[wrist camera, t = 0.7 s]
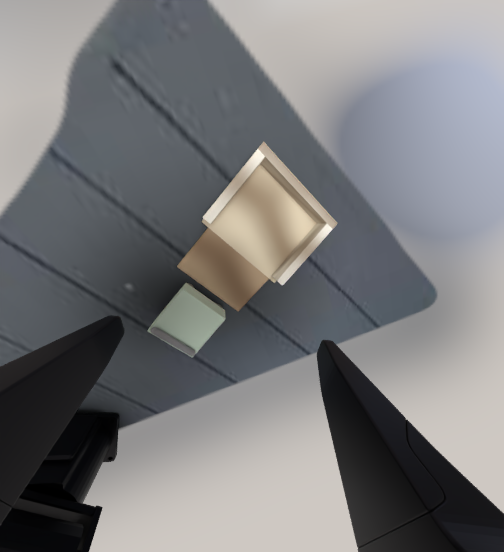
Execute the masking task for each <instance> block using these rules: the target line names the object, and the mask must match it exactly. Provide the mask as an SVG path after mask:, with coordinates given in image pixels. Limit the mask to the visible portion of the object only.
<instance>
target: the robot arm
mask: <svg viewBox="0 0 504 552" xmlns="http://www.w3.org/2000/svg"><path fill="white" fill-rule="evenodd" d="M123 335H124V327H123V324H122V320H121V318H120V317H119V316H112V315H110V316H107V317H105V318H103V319H101V320H98V321H96V322H94V323H92V324H90V325H88V326H86V327H84V328H81V329H79V330H77V331H75V332H73V333H71V334H69V335H67V336H65V337H62V338H60V339H58V340H56V341H54V342H52V343H50V344H48V345H45V346H43V347H41V348H39V349H37V350H35V351H33V352H31V353H28V354H26V355H24V356H22V357H20V358H18V359H16V360H14V361H11V362H9V363H7V364H5V365H3V366H1V367H0V552H89V549H90V546H91V543H92V540H93V536H94V533H95V530H96V527H97V524H98V520H99V517H100V514H101V511H102V507H100V506H96V507H94V506H90V505H86V504H83V501H84V499H85V497H86V495H87V493H88V491H89V489H90V487H91V485H92V483H93V481H94V479H95V477H96V475H97V473H98V471H99V469H100V466H101V464H102V462H111V461H114V459H115V457H116V455H117V441H118V425H119V416H118V415H117V414H75V413H76V411H77V410H78V408H79V407H80V405H81V404H82V402H83V401H84V399H85V398H86V396H87V395H88V393H89V392H90V390H91V389H92V387H93V386H94V384H95V383H96V381H97V380H98V378H99V377H100V375H101V374H102V372H103V371H104V369H105V368H106V366H107V364H108V363H109V361H110V359H111V357H112V355H113V353H114V352H115V350H116V348H117V346H118V344H119V342H120V340H121V339H122V337H123ZM317 361H318V370H319V377H320V385H321V392H322V397H323V402H324V406H325V410H326V415H327V419H328V423H329V428H330V432H331V436H332V440H333V445H334V449H335V453H336V457H337V462H338V466H339V470H340V475H341V479H342V483H343V488H344V492H345V496H346V500H347V505H348V509H349V513H350V518H351V522H352V526H353V530H354V534H355V539H356V543H357V547H358V552H504V513H502V512H501V511H500V510H499V509H498V508H497V507H496V506H495V505H494V504H493V503H492V502H491V501H490V500H489V499H487V497H486V496H484V495H483V494H482V493H481V492H480V491H479V490H478V489H477V488H476V487H475V486H474V485H473V484H472V483H470V481H469V480H468V479H466V478H465V477H464V476H463V475H462V474H461V473H460V472H459V471H458V470H457V469H456V468H455V467H454V466H453V465H452V464H451V463H450V462H449V461H447V459H446V458H445V457H444V456H442V455H441V454H440V453H439V452H438V451H437V450H436V449H435V448H434V447H433V446H432V445H431V444H430V443H429V442H428V441H427V440H426V439H425V438H424V437H423V435H421V433H420V432H418V430H417V429H416V428H415V427H414V426H413V425H412V424H411V423H410V422H409V421H408V420H406V418H405V417H404V416H403V415H402V414H401V413H400V412H399V410H398V409H396V407H395V406H394V405H393V404H392V403H391V402H390V401H389V400H388V399H387V398H386V397H385V396H384V395H383V394H382V393H381V392H380V391H379V389H378V388H377V387H376V386H375V385H374V384H373V383H372V382H371V381H370V380H369V379H368V378H367V377H366V376H365V375H364V374H363V373H362V372H361V371H360V369H359V368H358V367H357V366H356V365H355V364H354V363H353V362H352V361H351V360H350V359H349V358H348V357H347V356H346V355H345V354H344V353H343V352H342V351H341V350H340V348H339V347H338V346H337V345H336V344H335V343H334V342H333V341H330V340H322V342H321V344H320V347H319V349H318V352H317Z"/></svg>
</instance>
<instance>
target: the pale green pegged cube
mask: <svg viewBox="0 0 504 552" xmlns="http://www.w3.org/2000/svg"><path fill="white" fill-rule="evenodd" d="M225 319H226V317H225V310H224V309H222V306H221V305H220V304H215V303H214V302H213V301H211V300H210V299H208V298H207V297H206V296H204V295H203V294H201V293H200V292H199V291H197V290H196V289H194V286H193V285H192V284H190V283H185V284H184V285H183V286H182V288H181V289H180V290H179V291H178V293H177V294H176V295H175V296H174V297H173V299H172V300H171V301H170V302H169V304H168V305H167V306H166V307H165V308H164V310H163V311H162V312H161V313H160V314H159V316H158V317H157V318H156V319H155V320H154V322H153V323H152V325H151V326H150V328H149V329H148V332H149V333H151V334H153V335H154V336H156V337H158V338H160V339H161V340H163V341H165V342H166V343H168V344H170V345H171V346H173V347H175V348H177V349H178V350H180V351H182V352H183V353H185V354H187V355H188V356H190V357H193V356H194V355H195V354H196V353H197V352H198V350H199V349H200V348H201V347H202V346H203V345H204V344H205V342H206V341H207V340H208V339H209V338H210V337H211V335H212V334H213V333H214V332H215V331H216V330H217V329H218V327H219V326H220V325H221V324H222V323H223V322H224V320H225Z"/></svg>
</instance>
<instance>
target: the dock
mask: <svg viewBox="0 0 504 552" xmlns="http://www.w3.org/2000/svg"><path fill="white" fill-rule="evenodd" d="M202 218H204V219H203V220H202V223H204V224H205V225H206V226H207V227H208V228H207V230H206V231H205V232H204V233H203V235H202V236H201V237H200V238H199V240H198V241H197V242H196V243H195V245H194V246H193V247H192V248H191V249H190V251H189V252H188V253H187V254H186V256H185V257H184V258H183V259H182V261H181V262H180V263H179V264H178V266H177V267H178V268H179V269H181V270H182V271H183V272H185V273H186V274H187V275H189V276H190V277H192V278H193V279H194V280H196V281H197V282H198V283H200V284H201V285H203V286H204V287H205V288H207V289H208V290H209V291H211V292H212V293H213V294H215V295H216V296H218V297H219V298H220V299H222V300H223V301H224V302H226V303H227V304H229V305H230V306H231V307H233V308H234V309H235V310H237V311H239V310H240V309H241V308H242V307H243V306H244V305H245V304H246V303H247V302H248V301H249V299H250V298H251V297H252V296H253V295H254V294H255V293H256V292H257V291H258V290H259V289H260V288H261V287H262V286H263V284H264V283H265V282H266V281H267V280H268V279H270V280H271V281H272V282H274V283H275V282H276V281H278V282H279V283H280V284H281V285H282V286H283V285H284V284H285V283H286V281H287V280H288V279H289V278H290V277H291V276H292V275H293V273H294V272H295V271H296V270H297V269H298V268H299V267H300V266H301V264H302V263H303V262H304V261H305V260H306V259H307V258H308V256H309V255H310V254H311V253H312V252H313V251H314V250H315V249H316V247H317V246H318V245H319V244H320V243H321V242H322V241H323V239H324V238H325V237H326V236H327V235H328V234H329V233H330V231H331V230H332V229H333V228H334V227H335V226H336V225H337V224H338V223H337V222H336V221H335V220H334V219H333V218H332V217H331V216H330V214H329V213H328V212H327V211H326V210H325V209H324V208H323V207H322V206H321V205H320V203H319V202H318V201H317V200H316V199H315V198H314V197H313V196H312V195H311V193H310V192H309V191H308V190H307V189H306V188H305V187H304V186H303V185H302V184H301V182H300V181H299V180H298V179H297V178H296V177H295V176H294V175H293V174H292V172H291V171H290V170H289V169H288V168H287V167H286V166H285V165H284V164H283V162H282V161H281V160H280V159H279V158H278V157H277V156H276V155H275V154H274V153H273V151H272V150H271V149H270V148H269V147H268V146H267V145H266V144H265V143H264V142H263V143H262V144H261V146H260V147H259V148H258V149H257V151H256V152H255V153H254V154H253V156H252V157H251V158H250V159H249V160H248V162H247V163H246V164H245V165H244V167H243V168H242V169H241V170H240V172H239V173H238V174H237V175H236V177H235V178H234V179H233V180H232V182H231V183H230V184H229V185H228V186H227V188H226V189H225V190H224V191H223V193H222V194H221V195H220V196H219V198H218V199H217V200H216V201H215V203H214V204H213V205H212V206H211V208H210V209H209V210H208V211H207V213H206V214H205V215H204V216H203V217H202Z"/></svg>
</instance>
